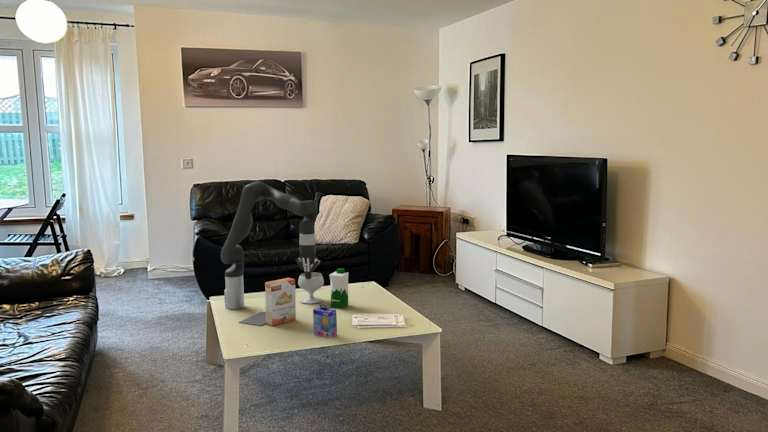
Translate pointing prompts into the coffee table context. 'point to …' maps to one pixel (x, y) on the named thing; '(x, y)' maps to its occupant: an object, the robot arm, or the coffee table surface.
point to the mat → (256, 319)
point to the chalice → (311, 286)
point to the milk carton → (339, 289)
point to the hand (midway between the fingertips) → (308, 279)
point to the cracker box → (280, 301)
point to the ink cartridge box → (325, 321)
